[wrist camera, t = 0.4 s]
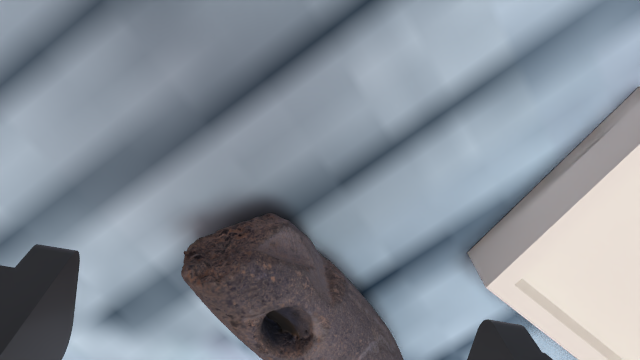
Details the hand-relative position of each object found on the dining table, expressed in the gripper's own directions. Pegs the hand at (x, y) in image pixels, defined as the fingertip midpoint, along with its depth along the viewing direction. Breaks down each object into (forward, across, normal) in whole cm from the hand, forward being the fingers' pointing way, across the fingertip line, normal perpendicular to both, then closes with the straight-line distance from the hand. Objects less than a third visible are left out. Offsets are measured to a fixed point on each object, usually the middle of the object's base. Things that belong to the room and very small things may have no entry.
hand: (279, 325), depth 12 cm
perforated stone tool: (+20, -4, +10) cm, 22 cm away
